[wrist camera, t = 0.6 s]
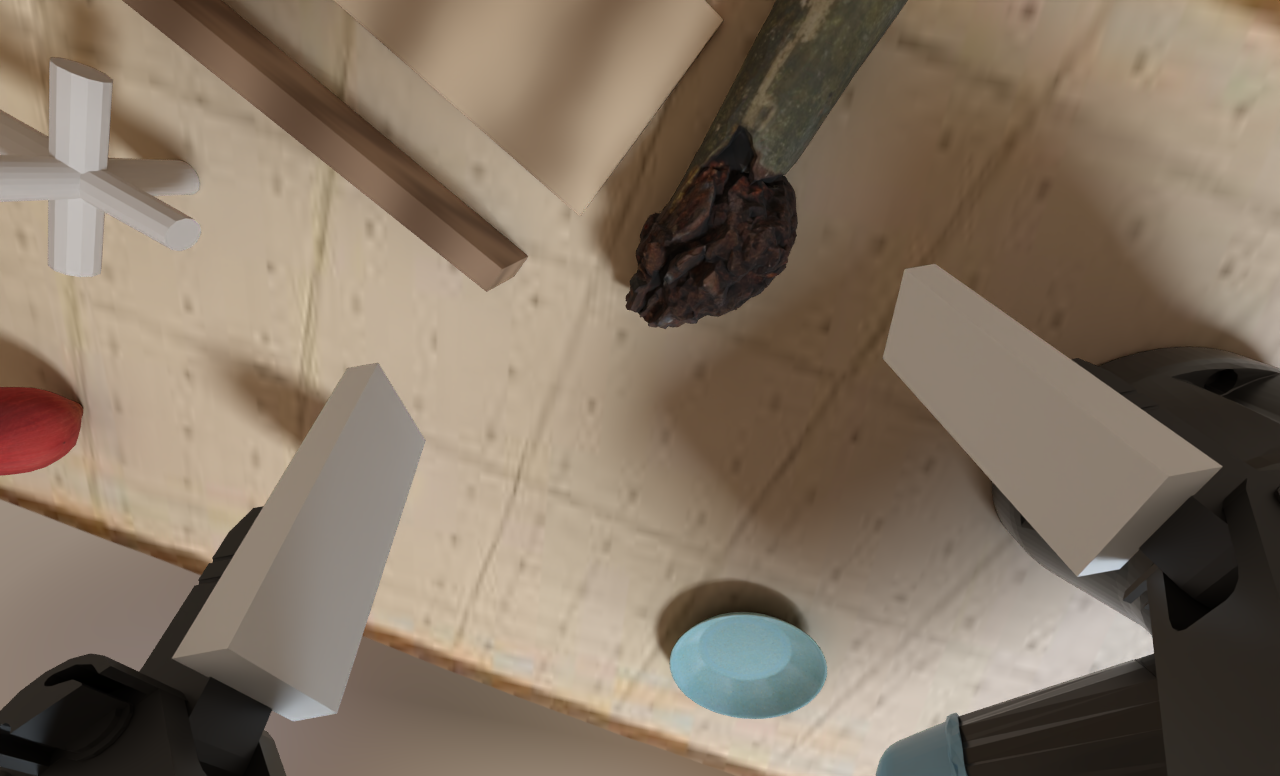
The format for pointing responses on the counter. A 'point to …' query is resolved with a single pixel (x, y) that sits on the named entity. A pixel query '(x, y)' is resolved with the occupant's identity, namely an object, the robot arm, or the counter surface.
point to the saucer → (748, 665)
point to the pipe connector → (89, 174)
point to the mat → (549, 72)
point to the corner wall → (335, 134)
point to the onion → (35, 428)
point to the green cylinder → (752, 164)
